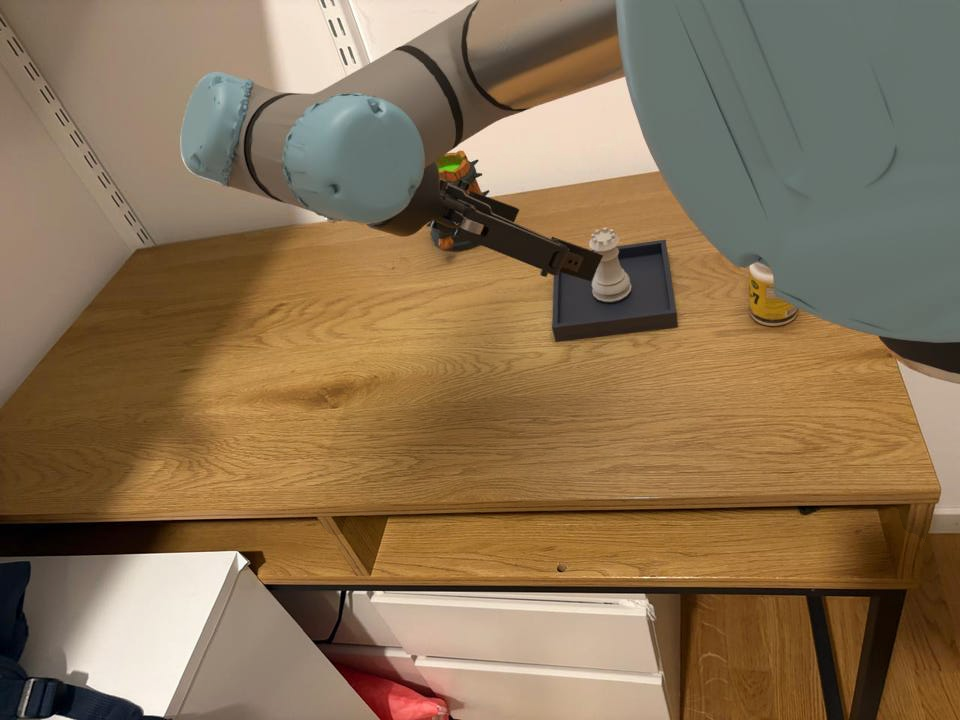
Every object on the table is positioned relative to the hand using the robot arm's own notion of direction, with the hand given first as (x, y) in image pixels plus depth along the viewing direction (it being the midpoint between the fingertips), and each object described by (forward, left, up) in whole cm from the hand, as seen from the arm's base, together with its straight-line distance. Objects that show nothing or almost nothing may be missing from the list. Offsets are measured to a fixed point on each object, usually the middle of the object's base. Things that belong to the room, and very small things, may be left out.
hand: (551, 242), depth 76 cm
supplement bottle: (-2, -21, -12) cm, 24 cm away
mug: (+21, +15, -12) cm, 29 cm away
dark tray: (+4, -5, -12) cm, 13 cm away
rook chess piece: (+4, -5, -11) cm, 13 cm away
